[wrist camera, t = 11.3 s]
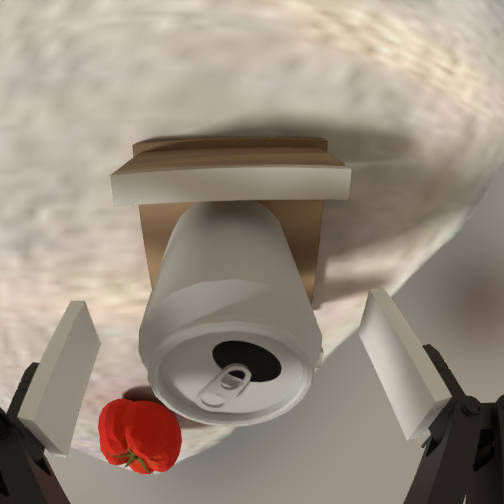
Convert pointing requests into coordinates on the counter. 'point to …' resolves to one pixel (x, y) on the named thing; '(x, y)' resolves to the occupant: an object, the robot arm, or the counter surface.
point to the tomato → (139, 435)
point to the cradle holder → (234, 188)
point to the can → (229, 319)
